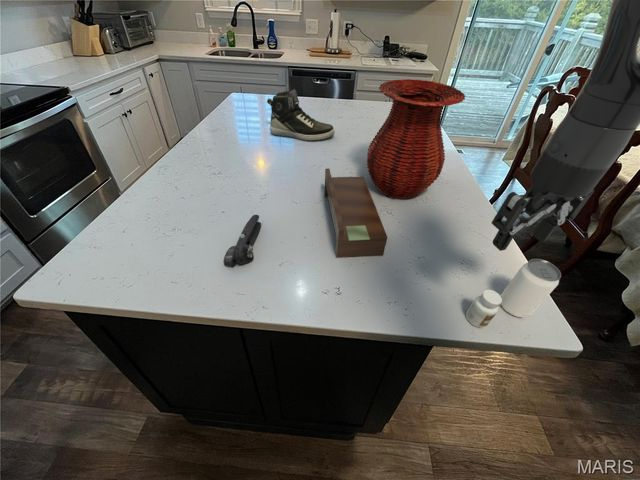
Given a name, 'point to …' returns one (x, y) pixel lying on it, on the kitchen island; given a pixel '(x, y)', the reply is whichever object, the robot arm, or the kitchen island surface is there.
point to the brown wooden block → (354, 217)
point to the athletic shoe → (295, 119)
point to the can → (530, 287)
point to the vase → (410, 137)
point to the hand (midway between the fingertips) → (518, 242)
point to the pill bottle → (484, 308)
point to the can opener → (244, 244)
